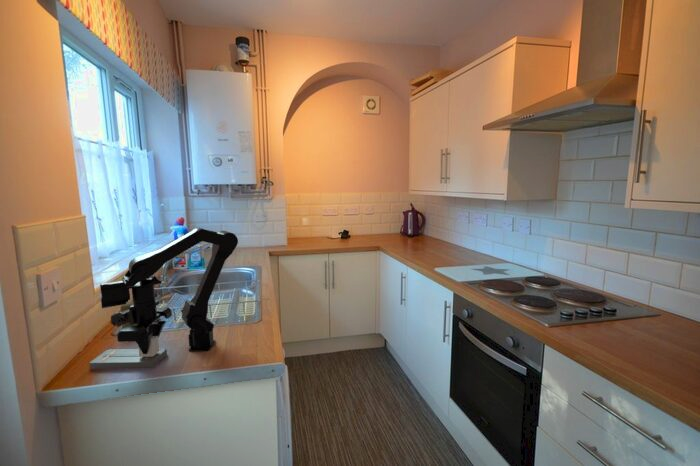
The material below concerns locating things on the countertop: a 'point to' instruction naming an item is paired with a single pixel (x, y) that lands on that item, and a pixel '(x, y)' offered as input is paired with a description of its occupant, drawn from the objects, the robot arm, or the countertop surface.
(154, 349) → the block
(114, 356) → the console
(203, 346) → the robot arm
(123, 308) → the cork
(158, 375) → the countertop surface
